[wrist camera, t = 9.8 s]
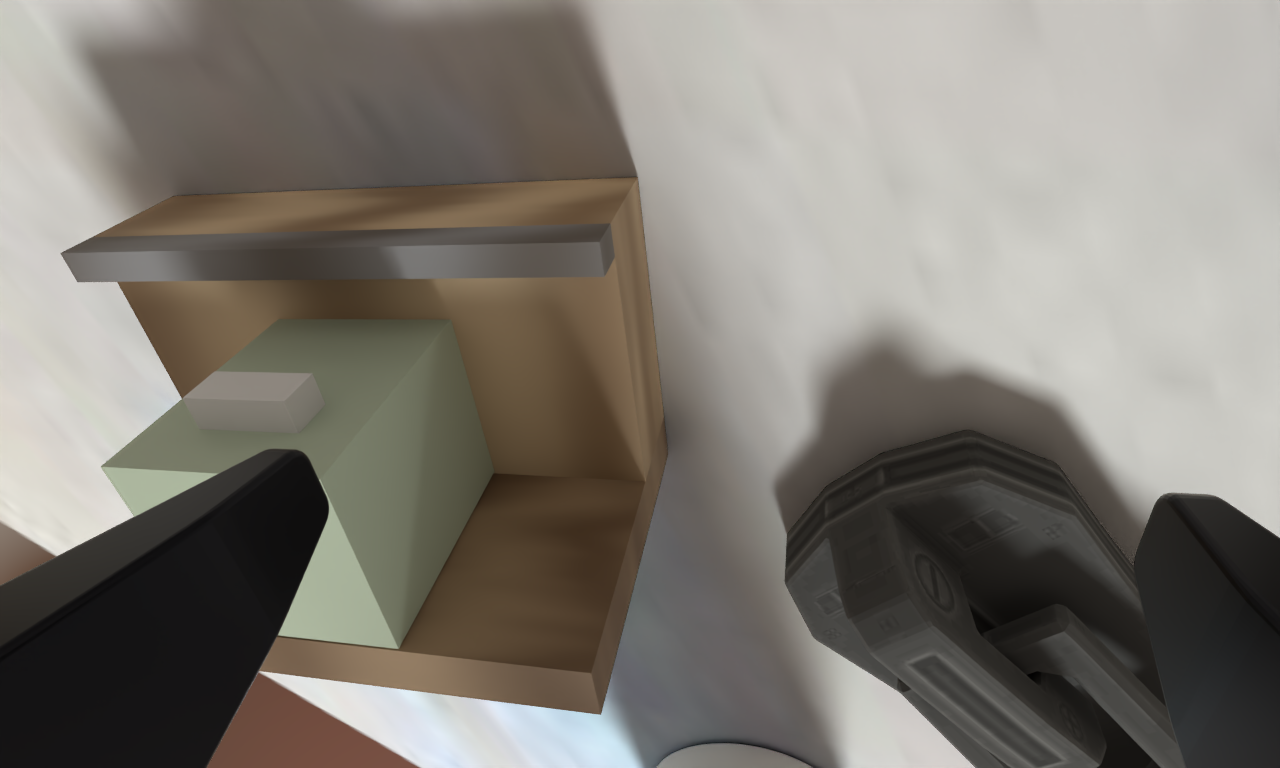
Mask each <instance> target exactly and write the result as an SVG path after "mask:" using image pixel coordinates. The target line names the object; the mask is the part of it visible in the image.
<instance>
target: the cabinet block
mask: <svg viewBox="0 0 1280 768" xmlns="http://www.w3.org/2000/svg"><path fill="white" fill-rule="evenodd" d="M274 448H277V449H296V450H299V451H302V452H303V453H305V454H306V455H307V456H308V458H309V459H310V461H311V463H312V466H313V468H314V470H315V472H316V474H317V476H318V479H319V481H320V483H321V485H322V487H323V489H324V492H325V494H326V496H327V498H328V502H329V515H328V519H327V522H326V525H325V527H324V530H323V532H322V534H321V537H320V539H319V541H318V544H317V546H316V548H315V551H314V553H313V555H312V558H311V560H310V562H309V565H308V567H307V570H306V572H305V574H304V577H303V579H302V581H301V584H300V586H299V588H298V591H297V593H296V595H295V598H294V600H293V602H292V605H291V607H290V610H289V612H288V614H287V616H286V619H285V621H284V623H283V625H282V627H281V630H280V632H279V634H278V635H280V636H288V637H297V638H306V639H315V640H324V641H332V642H341V643H350V644H359V645H368V646H376V647H385V648H394V649H399V648H400V646H401V644H402V642H403V640H404V638H405V636H406V635H407V633H408V631H409V629H410V627H411V625H412V623H413V622H414V620H415V618H416V616H417V614H418V612H419V610H420V609H421V607H422V605H423V603H424V601H425V599H426V597H427V596H428V594H429V592H430V590H431V588H432V586H433V585H434V583H435V581H436V579H437V577H438V575H439V573H440V572H441V570H442V568H443V566H444V564H445V562H446V560H447V559H448V557H449V555H450V553H451V551H452V549H453V547H454V546H455V544H456V542H457V540H458V538H459V536H460V534H461V533H462V531H463V529H464V527H465V525H466V523H467V521H468V520H469V518H470V516H471V514H472V512H473V510H474V508H475V507H476V505H477V503H478V501H479V499H480V497H481V496H482V494H483V492H484V490H485V488H486V486H487V484H488V483H489V481H490V479H491V477H492V475H493V473H494V468H493V464H492V461H491V457H490V454H489V450H488V447H487V443H486V440H485V436H484V433H483V429H482V426H481V422H480V419H479V415H478V412H477V408H476V405H475V401H474V398H473V394H472V391H471V387H470V384H469V380H468V377H467V373H466V370H465V366H464V363H463V359H462V356H461V352H460V349H459V345H458V342H457V338H456V335H455V331H454V328H453V324H452V321H451V320H437V319H278V320H277V321H276V322H274V323H273V324H272V325H271V326H269V327H268V328H267V329H266V330H265V331H263V332H262V333H261V334H260V335H259V336H257V337H256V338H255V339H254V340H253V341H251V342H250V343H249V344H248V345H247V346H245V347H244V348H243V349H242V350H241V351H239V352H238V353H237V354H236V355H235V356H233V357H232V358H231V359H230V360H229V361H227V362H226V363H225V364H224V365H223V366H221V367H220V368H219V369H218V370H217V371H214V372H213V373H212V374H211V375H210V376H208V377H207V378H206V379H205V380H204V381H202V382H201V383H200V384H199V385H198V386H196V387H195V388H194V389H193V390H192V391H190V392H189V393H188V394H187V395H186V396H184V397H183V398H182V400H180V401H179V402H178V403H177V404H176V405H174V406H173V407H172V408H171V409H170V410H168V411H167V412H166V413H165V414H164V415H162V416H161V417H160V418H159V419H158V420H156V421H155V422H154V423H153V424H152V425H150V426H149V427H148V428H147V429H146V430H144V431H143V432H142V433H141V434H140V435H138V436H137V437H136V438H135V439H133V440H132V441H131V442H130V443H129V444H127V445H126V446H125V447H124V448H123V449H121V450H120V451H119V452H118V453H117V454H115V455H114V456H113V457H112V458H111V459H109V460H108V461H107V462H106V463H105V464H103V465H102V466H101V468H102V470H103V471H104V472H105V474H106V475H107V477H108V478H109V480H110V481H111V483H112V484H113V486H114V487H115V489H116V490H117V492H118V493H119V495H120V496H121V498H122V499H123V501H124V502H125V504H126V505H127V507H128V508H129V510H130V511H131V513H132V514H133V515H134V517H135V516H137V515H139V514H141V513H143V512H145V511H147V510H148V509H150V508H152V507H154V506H156V505H158V504H160V503H162V502H164V501H166V500H168V499H170V498H172V497H174V496H176V495H178V494H180V493H182V492H184V491H186V490H188V489H189V488H191V487H193V486H195V485H197V484H199V483H201V482H203V481H205V480H207V479H209V478H211V477H213V476H215V475H217V474H219V473H221V472H223V471H225V470H227V469H229V468H230V467H232V466H234V465H236V464H238V463H240V462H242V461H244V460H246V459H248V458H250V457H252V456H254V455H256V454H258V453H260V452H262V451H264V450H267V449H274Z"/></svg>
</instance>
